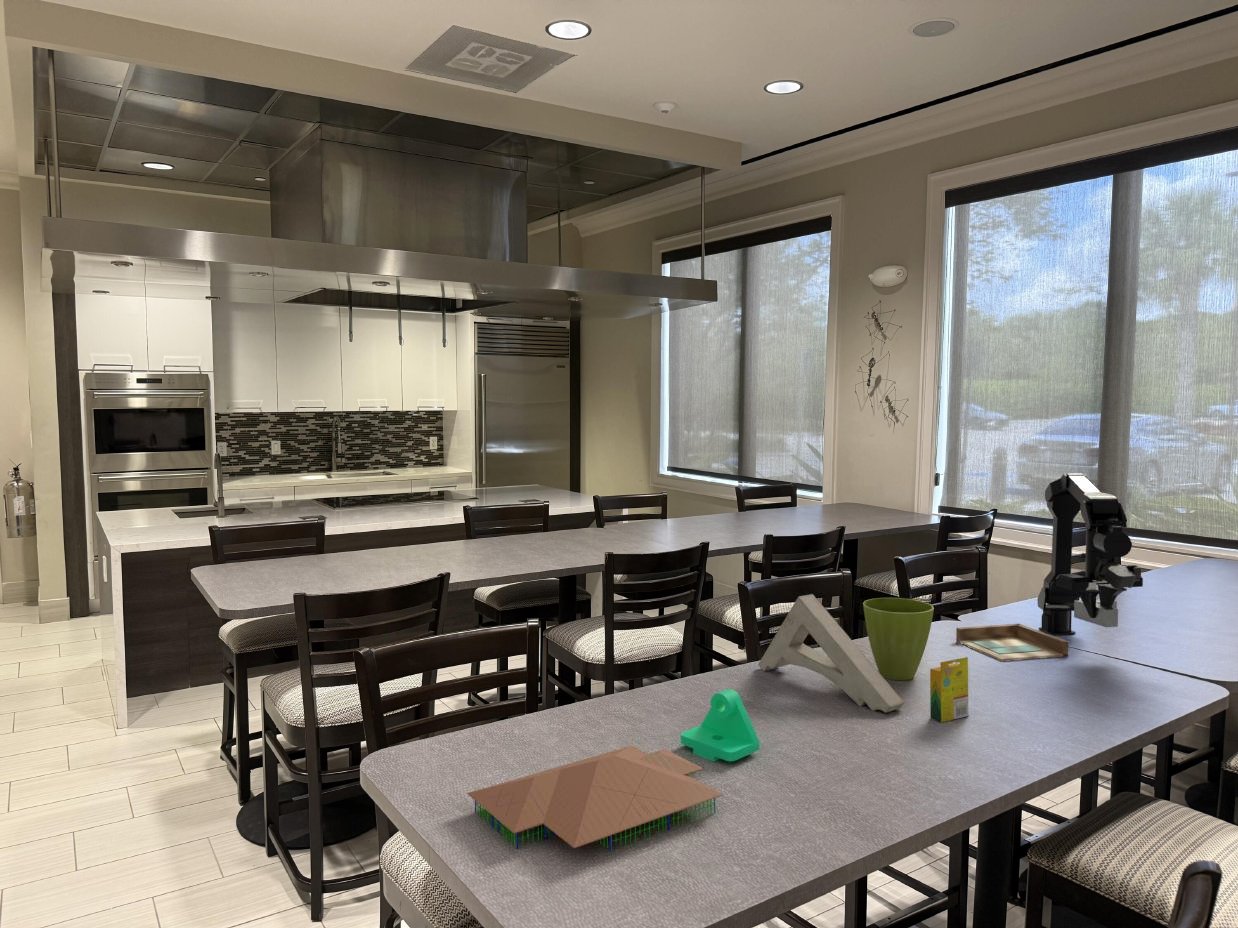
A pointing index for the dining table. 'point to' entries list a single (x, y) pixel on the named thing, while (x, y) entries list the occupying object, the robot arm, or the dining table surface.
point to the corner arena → (1012, 642)
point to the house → (597, 796)
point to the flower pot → (897, 634)
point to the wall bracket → (842, 659)
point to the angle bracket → (1098, 614)
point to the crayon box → (949, 690)
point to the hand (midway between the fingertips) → (1098, 617)
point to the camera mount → (723, 730)
